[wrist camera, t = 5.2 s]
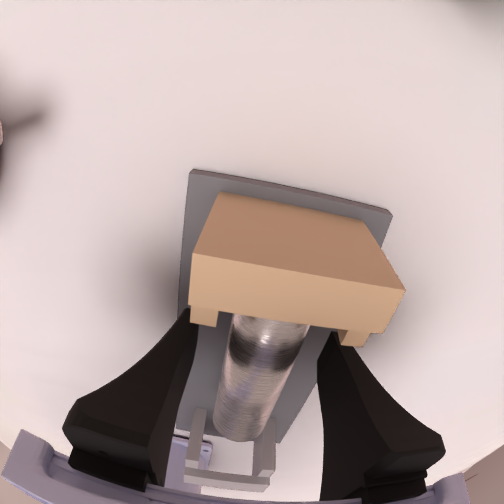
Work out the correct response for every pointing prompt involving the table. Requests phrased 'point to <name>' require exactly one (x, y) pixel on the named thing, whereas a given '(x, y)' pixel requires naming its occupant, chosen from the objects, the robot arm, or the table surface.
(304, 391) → the board
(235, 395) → the tube
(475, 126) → the table surface
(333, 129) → the table surface
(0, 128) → the cup
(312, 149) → the table surface
